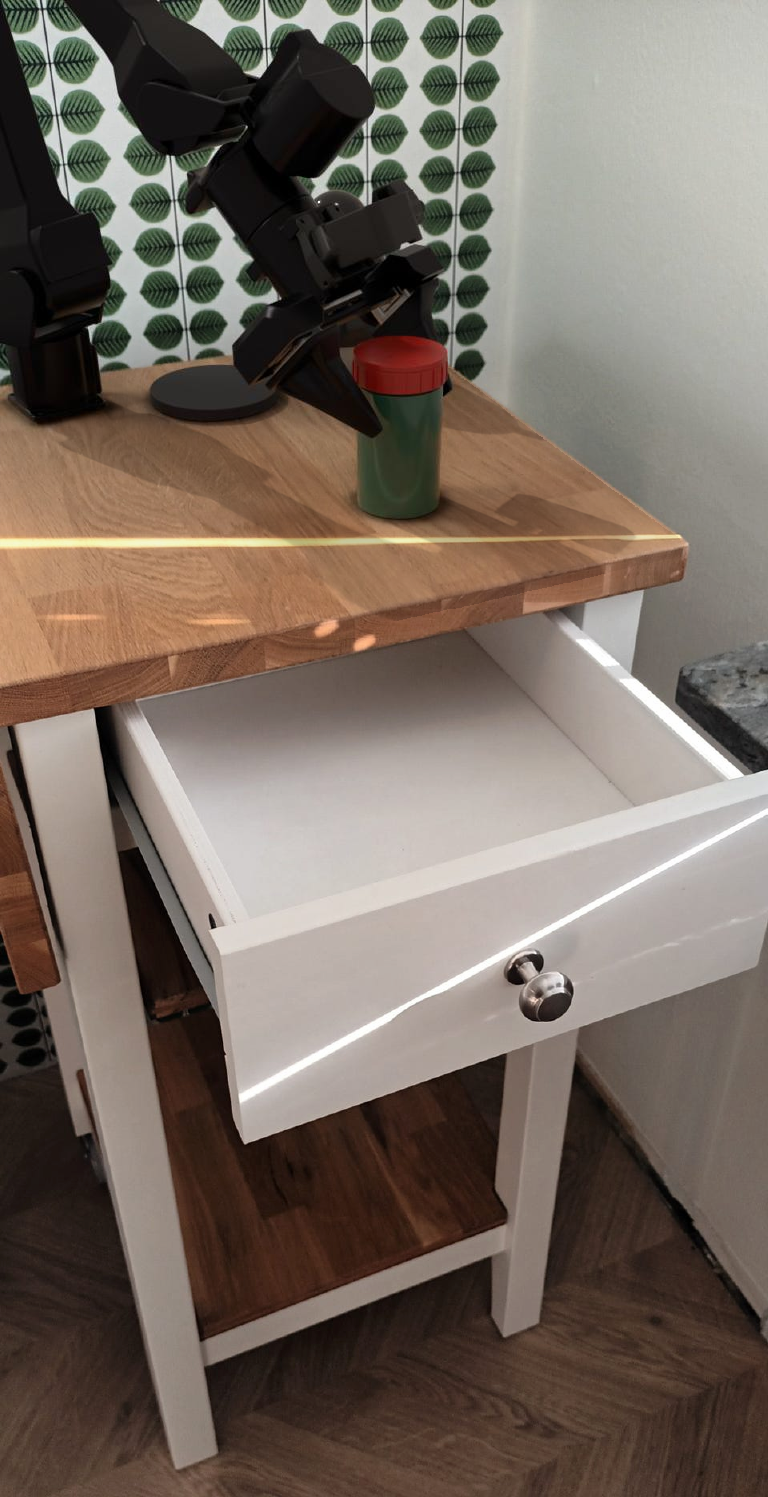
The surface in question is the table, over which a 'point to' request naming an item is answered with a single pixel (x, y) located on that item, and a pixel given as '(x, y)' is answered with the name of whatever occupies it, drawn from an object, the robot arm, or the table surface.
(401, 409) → the jar
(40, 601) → the table surface
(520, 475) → the table surface
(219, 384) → the coaster
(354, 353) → the lid
